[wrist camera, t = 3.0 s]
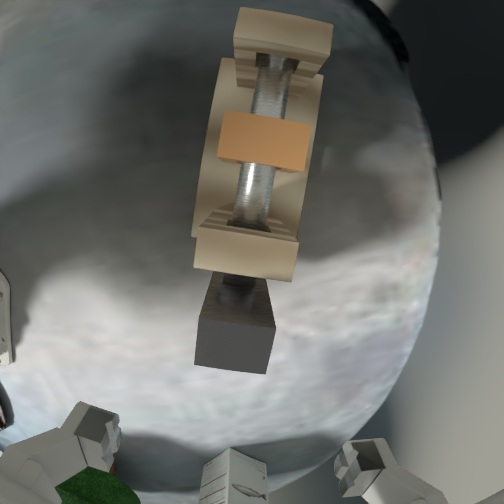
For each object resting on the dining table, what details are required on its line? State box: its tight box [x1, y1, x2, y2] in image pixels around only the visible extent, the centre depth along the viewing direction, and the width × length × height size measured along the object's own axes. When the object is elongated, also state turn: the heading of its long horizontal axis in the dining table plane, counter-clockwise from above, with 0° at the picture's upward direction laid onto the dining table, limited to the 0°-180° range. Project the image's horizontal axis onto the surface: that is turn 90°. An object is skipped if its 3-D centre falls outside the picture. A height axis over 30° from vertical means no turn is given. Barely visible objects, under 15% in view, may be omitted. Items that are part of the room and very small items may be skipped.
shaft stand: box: [191, 7, 333, 282], centre depth 23 cm, size 18×10×12 cm, turn 171°
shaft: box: [194, 53, 294, 374], centre depth 18 cm, size 22×4×10 cm, turn 171°
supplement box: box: [199, 448, 269, 504], centre depth 33 cm, size 7×7×13 cm
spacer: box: [216, 110, 312, 173], centre depth 20 cm, size 3×5×5 cm, turn 81°
